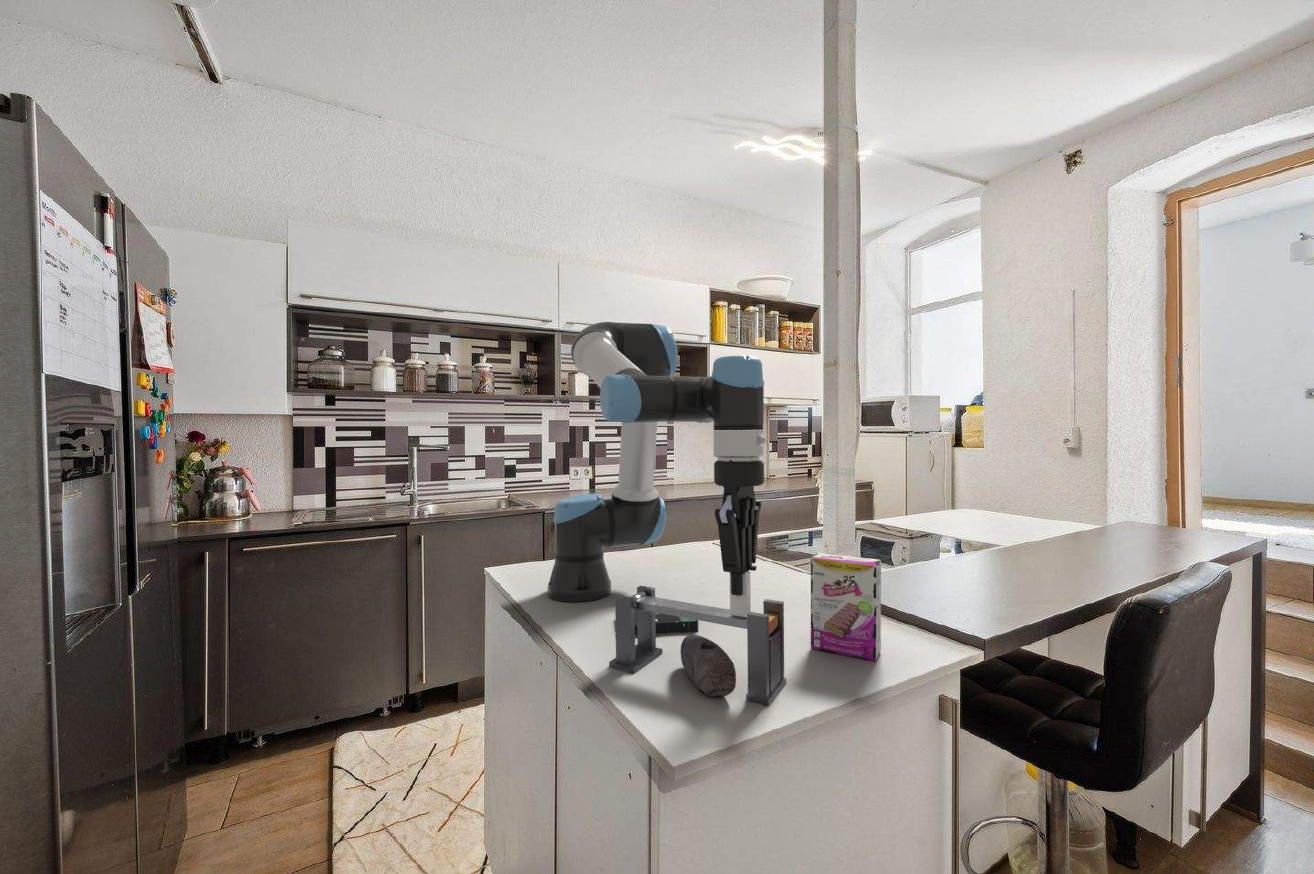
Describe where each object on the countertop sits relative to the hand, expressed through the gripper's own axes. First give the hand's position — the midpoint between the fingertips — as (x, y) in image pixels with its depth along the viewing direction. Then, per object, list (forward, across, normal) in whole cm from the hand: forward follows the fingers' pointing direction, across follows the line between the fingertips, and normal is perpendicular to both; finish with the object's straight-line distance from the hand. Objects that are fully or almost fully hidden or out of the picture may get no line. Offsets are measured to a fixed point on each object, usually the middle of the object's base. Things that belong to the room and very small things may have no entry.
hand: (740, 614), depth 83 cm
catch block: (+11, 0, -4) cm, 12 cm away
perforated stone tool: (+11, -2, +6) cm, 13 cm away
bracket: (+11, 0, +19) cm, 22 cm away
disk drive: (+12, +17, +25) cm, 32 cm away
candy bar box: (+11, +21, -11) cm, 26 cm away
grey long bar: (+2, 0, +8) cm, 8 cm away
